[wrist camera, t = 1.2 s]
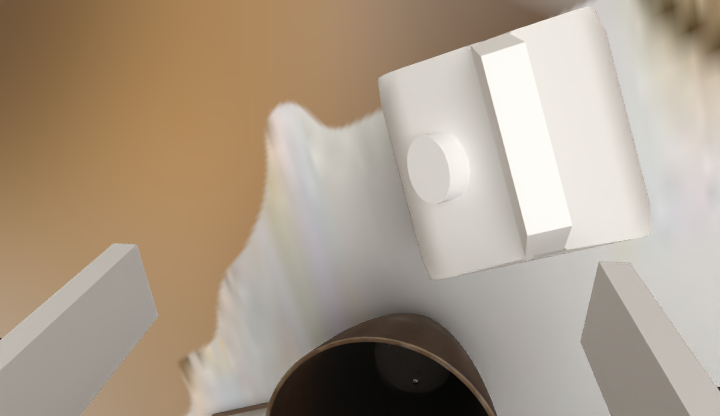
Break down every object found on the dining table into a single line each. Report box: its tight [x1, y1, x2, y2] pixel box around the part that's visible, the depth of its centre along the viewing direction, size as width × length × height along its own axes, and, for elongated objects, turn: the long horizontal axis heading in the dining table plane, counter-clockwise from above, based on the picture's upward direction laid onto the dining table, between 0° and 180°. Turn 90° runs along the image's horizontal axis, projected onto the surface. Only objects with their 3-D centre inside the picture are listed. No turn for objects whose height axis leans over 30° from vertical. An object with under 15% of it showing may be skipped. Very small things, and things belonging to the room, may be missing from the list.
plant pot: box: [265, 314, 497, 416], centre depth 35 cm, size 15×15×16 cm
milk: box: [378, 6, 651, 280], centre depth 27 cm, size 12×12×26 cm
